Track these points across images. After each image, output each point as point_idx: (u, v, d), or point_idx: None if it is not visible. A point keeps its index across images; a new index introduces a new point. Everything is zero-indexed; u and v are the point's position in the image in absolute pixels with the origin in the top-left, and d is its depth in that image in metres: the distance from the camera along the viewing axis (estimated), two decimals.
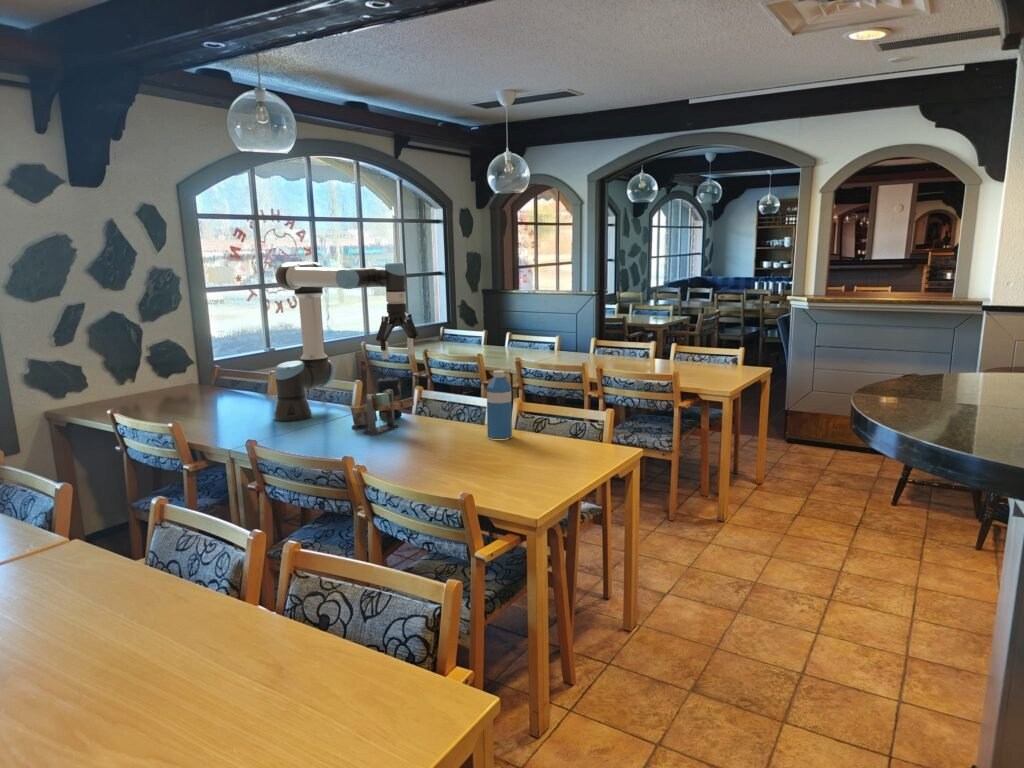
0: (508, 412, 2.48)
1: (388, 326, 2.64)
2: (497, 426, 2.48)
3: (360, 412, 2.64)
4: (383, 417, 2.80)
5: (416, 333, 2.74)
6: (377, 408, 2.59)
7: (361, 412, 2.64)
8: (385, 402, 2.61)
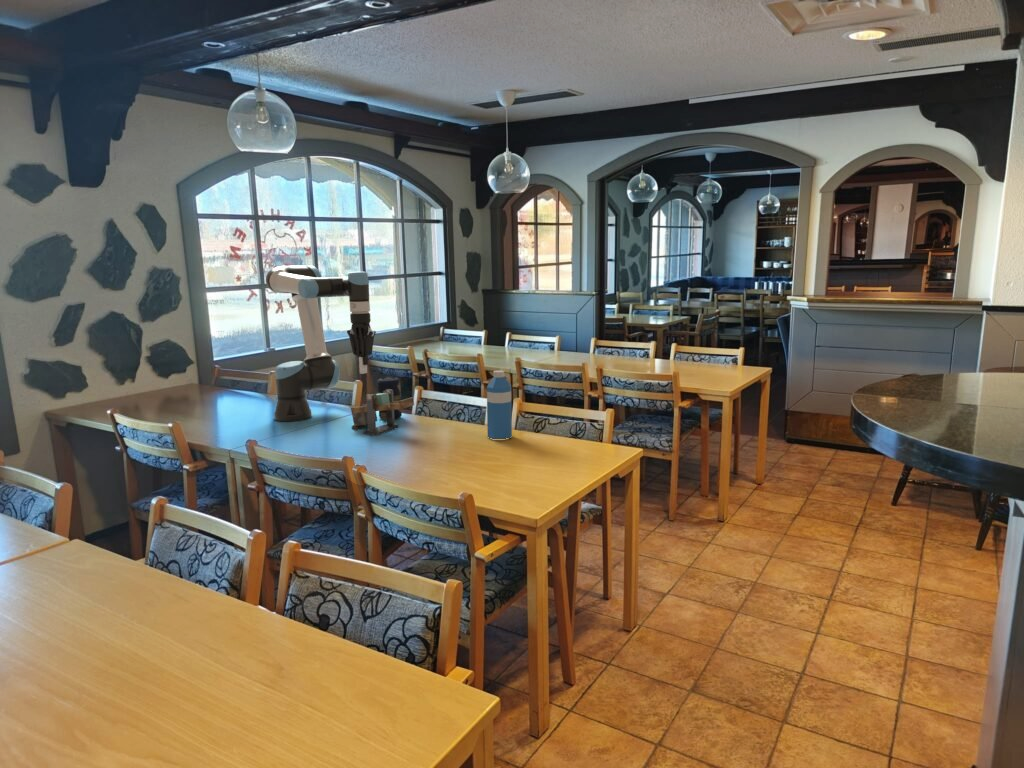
0: (508, 412, 2.48)
1: None
2: (497, 426, 2.48)
3: (360, 412, 2.64)
4: (383, 417, 2.80)
5: (366, 352, 2.60)
6: (377, 408, 2.59)
7: (361, 412, 2.64)
8: (385, 402, 2.61)
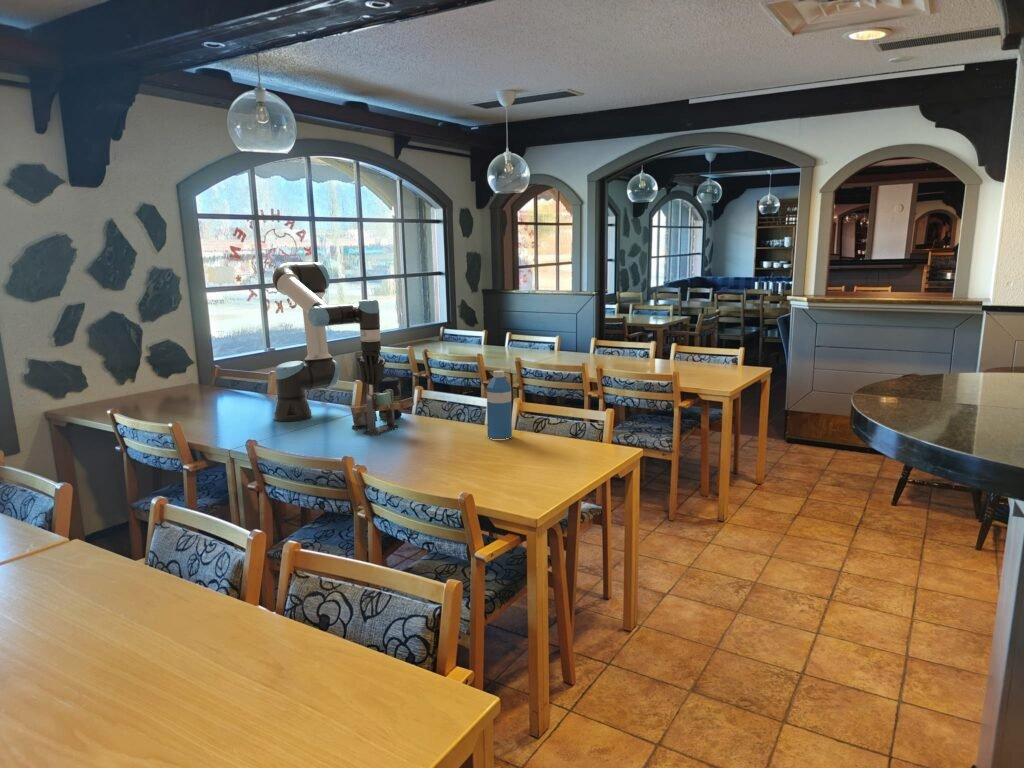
0: (508, 412, 2.48)
1: None
2: (497, 426, 2.48)
3: (360, 412, 2.64)
4: (383, 417, 2.80)
5: (376, 380, 2.60)
6: (377, 408, 2.59)
7: (361, 412, 2.64)
8: (387, 402, 2.60)
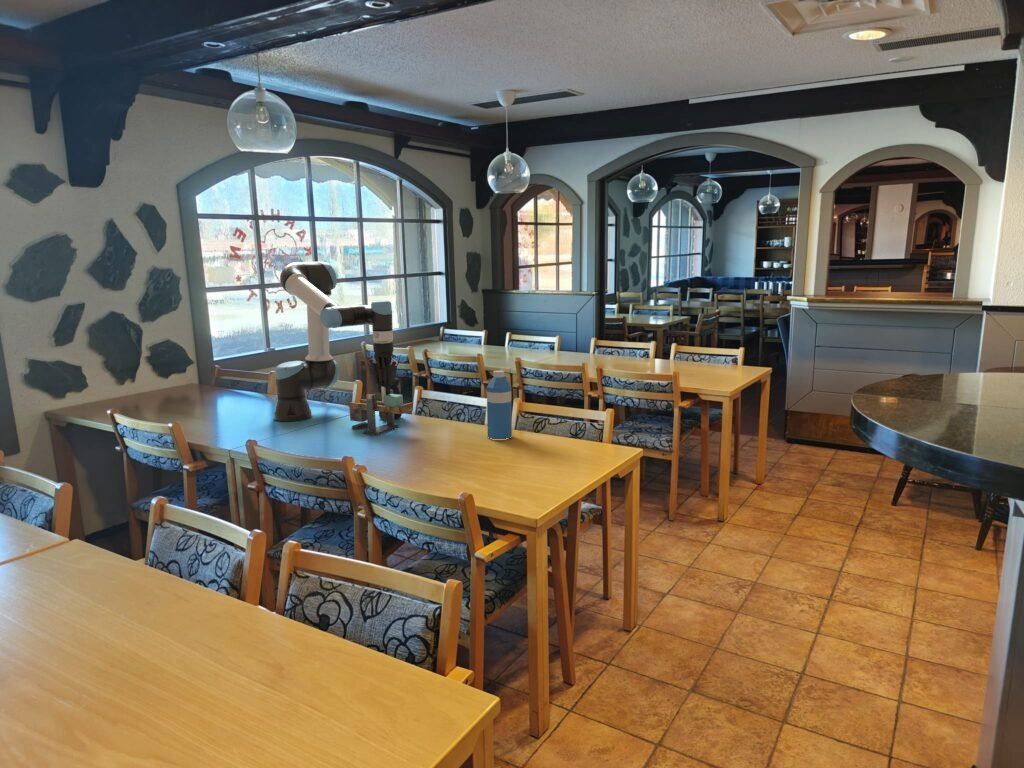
0: (508, 412, 2.48)
1: None
2: (497, 426, 2.48)
3: (358, 409, 2.64)
4: (383, 417, 2.80)
5: (389, 382, 2.57)
6: (376, 408, 2.59)
7: (359, 409, 2.64)
8: (399, 405, 2.58)
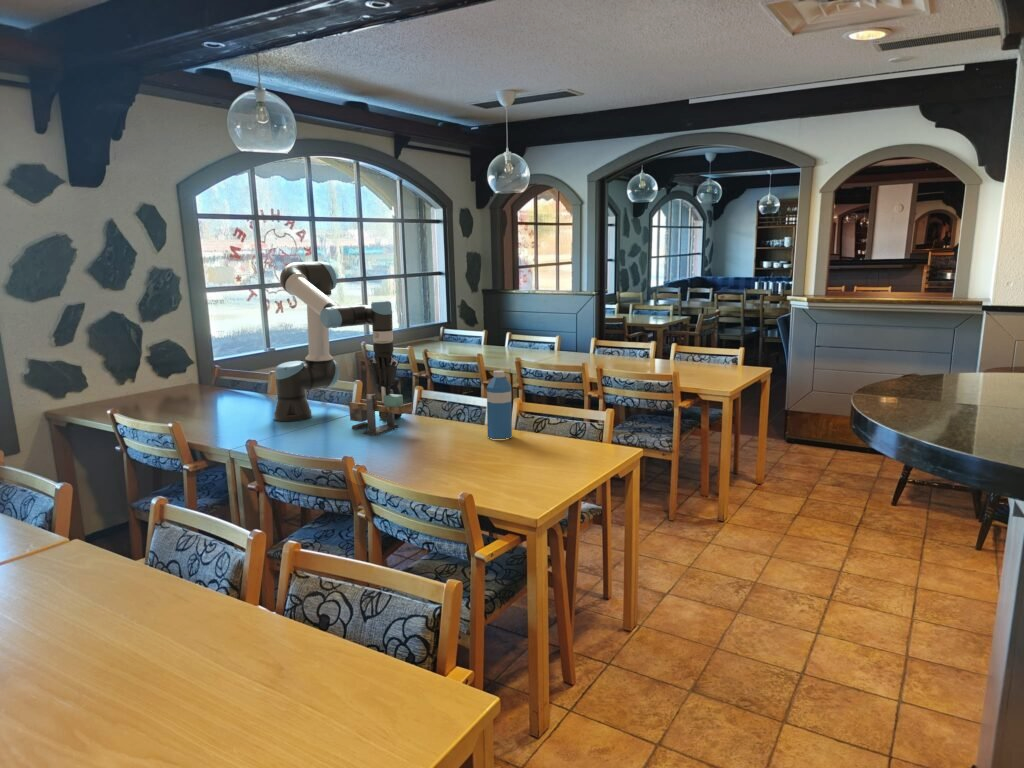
0: (508, 412, 2.48)
1: None
2: (497, 426, 2.48)
3: (358, 409, 2.64)
4: (383, 417, 2.80)
5: (389, 382, 2.57)
6: (376, 408, 2.59)
7: (359, 409, 2.64)
8: (399, 405, 2.58)
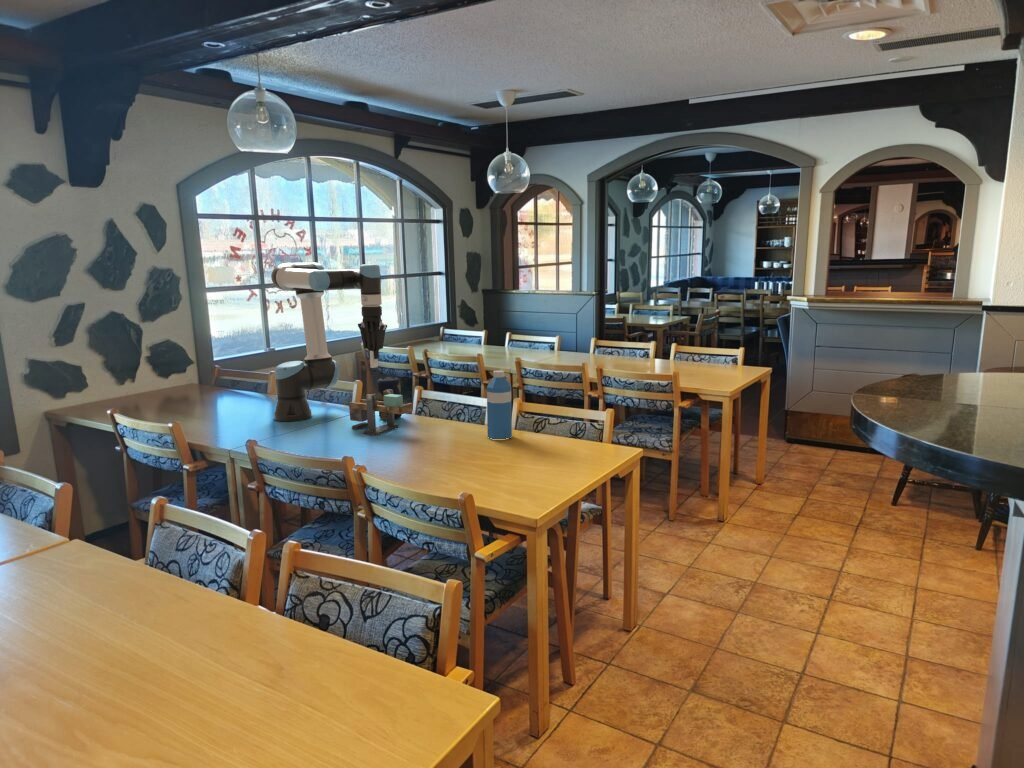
0: (508, 412, 2.48)
1: None
2: (497, 426, 2.48)
3: (358, 408, 2.64)
4: (383, 417, 2.80)
5: (377, 346, 2.57)
6: (376, 408, 2.59)
7: (359, 409, 2.64)
8: (398, 405, 2.58)
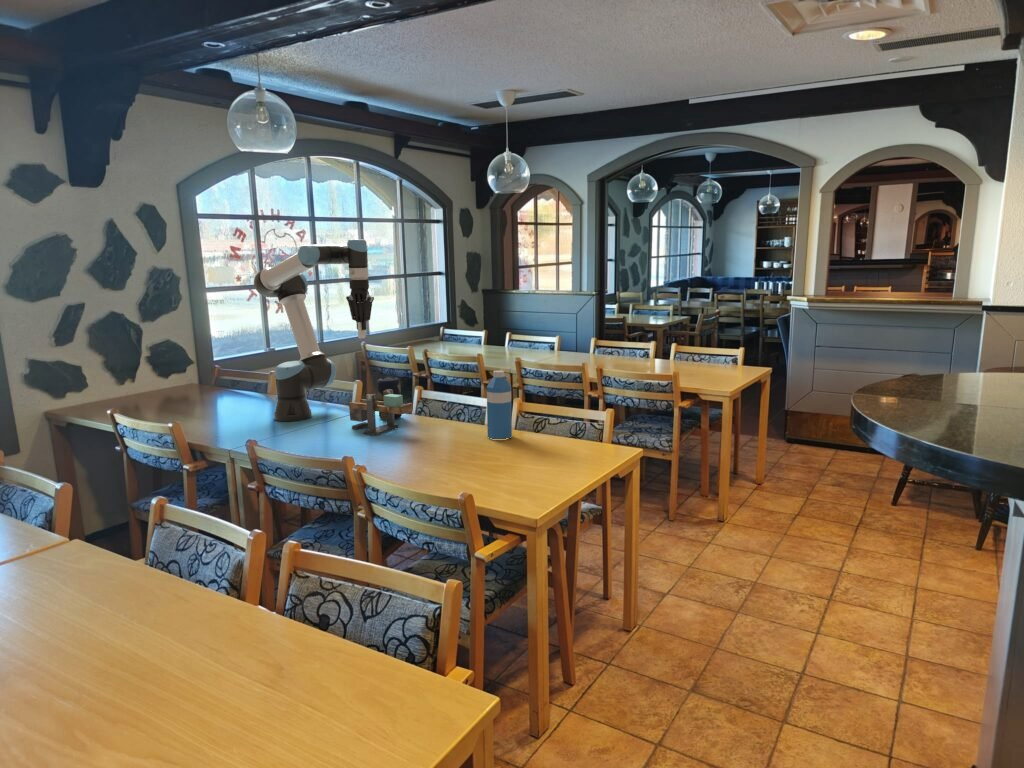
0: (508, 412, 2.48)
1: None
2: (497, 426, 2.48)
3: (358, 408, 2.64)
4: (383, 417, 2.80)
5: (364, 317, 2.70)
6: (376, 408, 2.59)
7: (359, 409, 2.64)
8: (398, 405, 2.58)
